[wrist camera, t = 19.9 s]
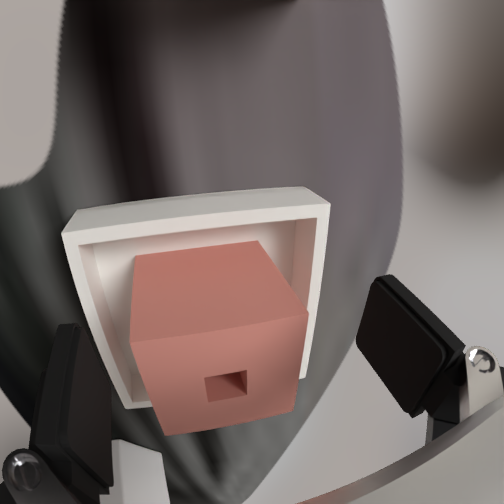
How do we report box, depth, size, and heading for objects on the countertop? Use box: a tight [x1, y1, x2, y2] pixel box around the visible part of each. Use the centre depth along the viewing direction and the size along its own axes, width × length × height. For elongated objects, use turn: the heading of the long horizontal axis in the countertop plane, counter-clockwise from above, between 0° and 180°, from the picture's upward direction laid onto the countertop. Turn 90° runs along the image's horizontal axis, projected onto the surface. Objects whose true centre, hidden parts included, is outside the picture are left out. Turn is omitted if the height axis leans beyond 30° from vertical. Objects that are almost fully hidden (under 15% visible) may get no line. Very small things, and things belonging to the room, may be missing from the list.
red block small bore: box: [130, 240, 309, 436], centre depth 14 cm, size 6×6×6 cm
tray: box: [61, 186, 331, 409], centre depth 16 cm, size 11×11×3 cm
